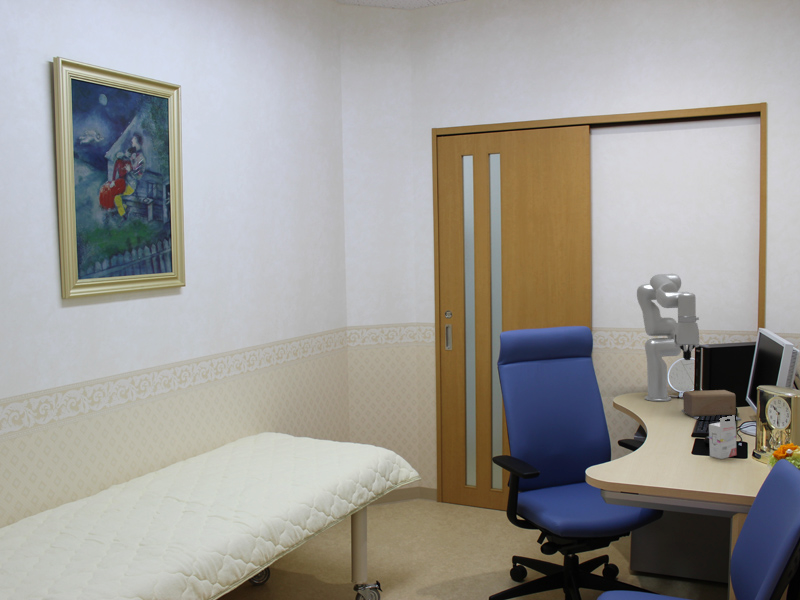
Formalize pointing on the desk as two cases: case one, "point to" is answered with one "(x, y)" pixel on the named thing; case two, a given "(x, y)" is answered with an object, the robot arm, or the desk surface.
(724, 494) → the desk surface
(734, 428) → the ink cartridge box
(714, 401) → the wooden block
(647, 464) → the desk surface
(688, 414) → the mat
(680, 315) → the robot arm
